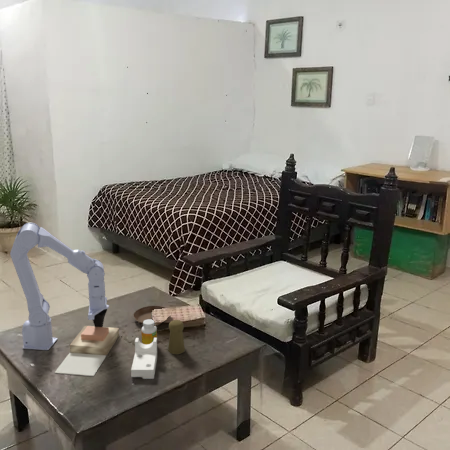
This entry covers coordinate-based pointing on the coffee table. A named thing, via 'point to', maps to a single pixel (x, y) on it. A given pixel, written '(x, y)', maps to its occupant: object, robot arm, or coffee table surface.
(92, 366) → the mat
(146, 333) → the supplement bottle
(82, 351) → the beige flat block
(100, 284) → the robot arm
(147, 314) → the saucer
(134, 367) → the bracket
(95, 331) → the tile
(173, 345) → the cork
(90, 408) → the coffee table surface
